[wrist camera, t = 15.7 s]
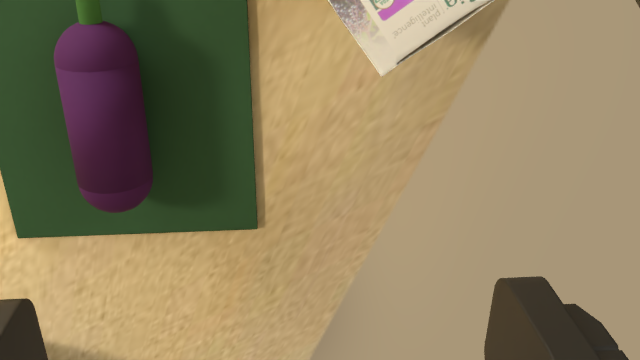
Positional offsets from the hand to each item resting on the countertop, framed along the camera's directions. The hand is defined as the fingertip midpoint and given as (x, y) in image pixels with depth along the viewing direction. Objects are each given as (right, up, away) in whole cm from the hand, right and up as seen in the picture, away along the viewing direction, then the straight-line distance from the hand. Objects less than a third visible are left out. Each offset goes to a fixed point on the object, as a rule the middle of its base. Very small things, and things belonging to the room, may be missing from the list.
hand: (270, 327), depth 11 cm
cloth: (-11, +7, +27) cm, 30 cm away
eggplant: (-11, +7, +27) cm, 30 cm away
